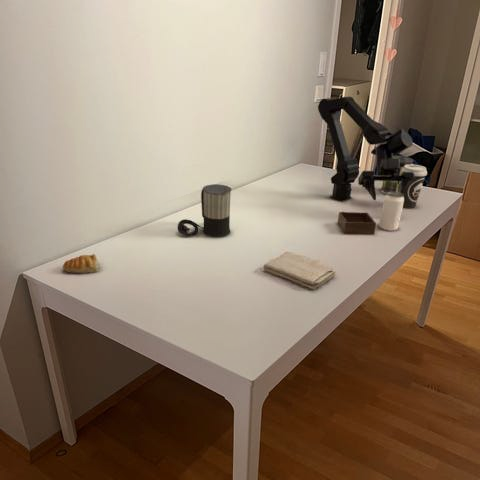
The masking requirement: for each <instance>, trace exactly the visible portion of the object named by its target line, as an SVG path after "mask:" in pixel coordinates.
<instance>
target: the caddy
mask: <svg viewBox="0 0 480 480" xmlns="http://www.w3.org/2000/svg"><path fill="white" fill-rule="evenodd" d="M337 224H338V226H339V228H340V229H341V231H342V233H343V234H344V235H375V232H376V226H377V223H376V221H375V220H374V219H373V217H372V216H371V214H370V213H369V212H357V211H356V212H355V211H353V212H352V211H347V212H346V211H338V215H337Z"/></svg>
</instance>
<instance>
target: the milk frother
mask: <svg viewBox="0 0 480 480" xmlns="http://www.w3.org/2000/svg"><path fill="white" fill-rule="evenodd" d="M231 192H232V188H231V187H230V186H228V185H224V184H218V183H217V184H214V183H213V184H206V185H204V186H202V189H201V192H200V201H201V202H200V203H201V217H202V218H203V226H201V225H199V224H198V223H197V222H195V221H193V220H191V219H186V218H185V219H181V220H180V221H179V222H178V223H177V232H179V233H180V234H181V235H183V236H186V237H192V236H193V237H194V236H195V235H197V234H198V233H199V231H200V229H202V233H203V234H204V235H205V236H208V237H211V238H222V237H227V236H228V235H230V233H231V229H230V226H231V225H230V223H231V222H230V219H231V217H230V216H231ZM188 225H190V226H192V227H193V228H194V230H193V231H191V232H190V229H191V228H189V227H188ZM199 228H200V229H199Z"/></svg>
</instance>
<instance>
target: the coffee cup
mask: <svg viewBox="0 0 480 480" xmlns="http://www.w3.org/2000/svg"><path fill="white" fill-rule="evenodd" d="M401 172H413V173H414V174H415V179H414V180H413V181H412V183H411V184H410V185H409V186H407V187H406V188H405V190H404V193H403V194H404V196H403V197H404V203H403V208H404V209H415V208H416V205H417V202H418V199H419V196H420V193H421V190H422V187H423V184H424V181H425V178H426V176H427V175H428V171H427V167H425V166H423V165H420V164H412V165H405V166H404V168H403V169H402V171H401ZM403 208H402V209H403Z"/></svg>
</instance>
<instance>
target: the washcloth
mask: <svg viewBox="0 0 480 480" xmlns="http://www.w3.org/2000/svg"><path fill="white" fill-rule="evenodd" d="M262 267H263V268H262V269H263V270H264V271H266V272H268V273H270V274H273V275H276V276H278V277H281V278H283V279H287V280H289V281H292V282H294V283H295V284H298V285H300V286H302V287H306V288H309V289H310V290H312V291H313V290H316V289H317V288H318V287H321V286H323V285H324V284H325V283H326V282H328V281H330V280H331V279H333V278H334V277H335V276H336V271H335V270H333V269H334V267H333V266H329V265H326V264H324V263H322V261H321V260H318V259H314V258H310V257H308V256H305V255H301V254H299V253H295V252H292V251H285V252H284V253H282V254H280V255H279V256H278V257H277V258H274V259H271V260H270V261H268V262H266V263H264V264H263V266H262Z"/></svg>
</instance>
